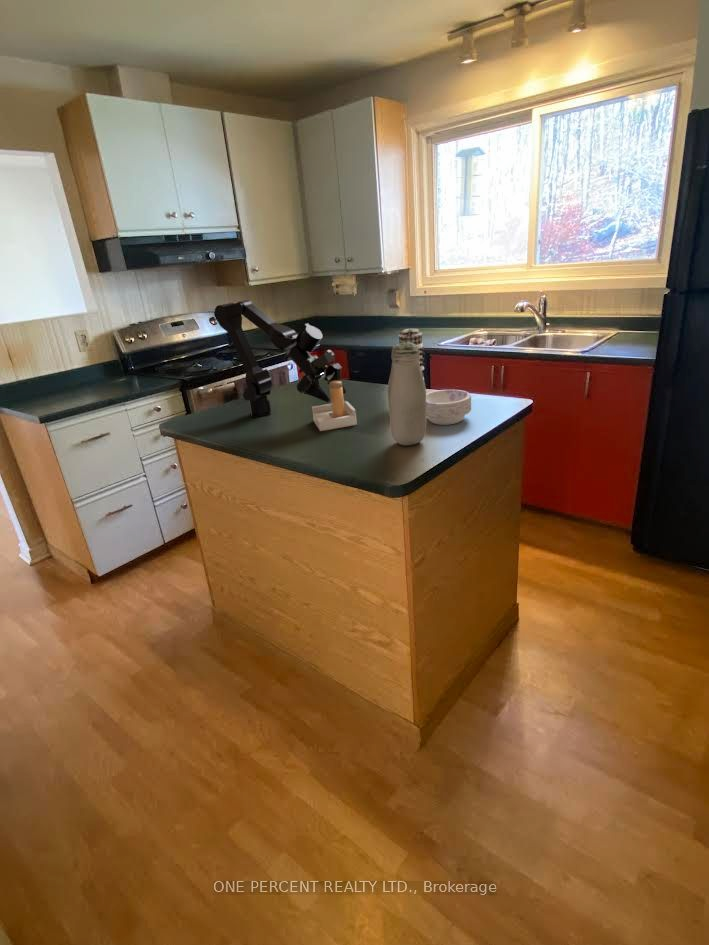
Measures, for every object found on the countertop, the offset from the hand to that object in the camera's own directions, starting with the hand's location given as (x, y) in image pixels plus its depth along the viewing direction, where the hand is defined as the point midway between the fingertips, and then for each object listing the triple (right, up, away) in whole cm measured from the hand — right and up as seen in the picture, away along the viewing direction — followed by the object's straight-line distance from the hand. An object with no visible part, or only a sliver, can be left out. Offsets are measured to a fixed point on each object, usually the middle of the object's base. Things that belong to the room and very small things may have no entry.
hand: (337, 397), depth 164 cm
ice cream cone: (+1, -8, +4) cm, 9 cm away
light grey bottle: (+21, -16, -19) cm, 32 cm away
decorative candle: (+26, 0, +16) cm, 31 cm away
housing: (-1, -8, +4) cm, 9 cm away
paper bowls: (+34, -8, -4) cm, 35 cm away
